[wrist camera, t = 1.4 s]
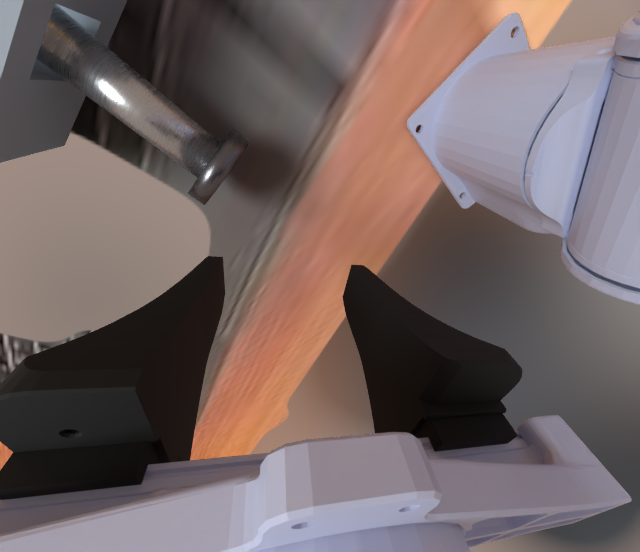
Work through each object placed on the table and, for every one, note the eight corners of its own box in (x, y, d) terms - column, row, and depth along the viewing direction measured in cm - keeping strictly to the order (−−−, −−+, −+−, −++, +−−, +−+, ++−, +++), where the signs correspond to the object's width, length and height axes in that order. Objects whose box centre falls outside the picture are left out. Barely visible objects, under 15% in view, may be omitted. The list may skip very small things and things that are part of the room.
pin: (251, 137, 16) (245, 150, 13) (212, 190, 18) (196, 216, 14) (91, -11, 12) (10, -56, 8) (57, 77, 14) (-24, 72, 10)
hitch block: (155, -65, 12) (74, -171, 7) (64, 145, 16) (-27, 169, 11) (79, -152, 10) (-90, -361, 6) (0, 105, 14) (-137, 112, 10)
